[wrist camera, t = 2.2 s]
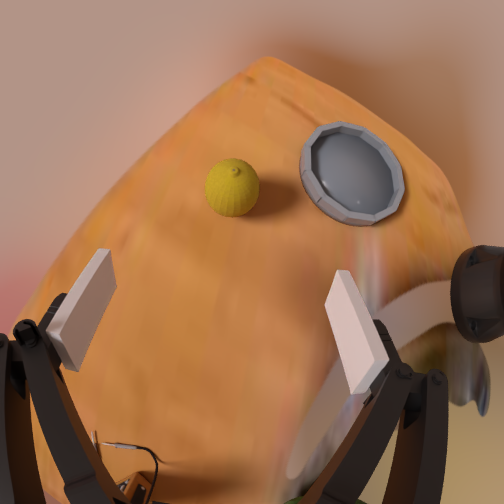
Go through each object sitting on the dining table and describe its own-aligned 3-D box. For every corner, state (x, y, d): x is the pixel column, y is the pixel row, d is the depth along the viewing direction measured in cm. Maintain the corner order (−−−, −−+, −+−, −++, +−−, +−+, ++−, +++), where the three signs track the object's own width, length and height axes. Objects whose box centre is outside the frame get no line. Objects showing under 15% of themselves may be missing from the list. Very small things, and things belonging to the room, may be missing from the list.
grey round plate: (386, 144, 37) (394, 135, 35) (398, 232, 34) (409, 227, 32) (298, 124, 36) (303, 113, 34) (298, 219, 33) (304, 211, 31)
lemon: (228, 173, 33) (231, 135, 26) (264, 202, 33) (277, 168, 25) (196, 205, 32) (190, 172, 24) (233, 236, 32) (237, 210, 24)
